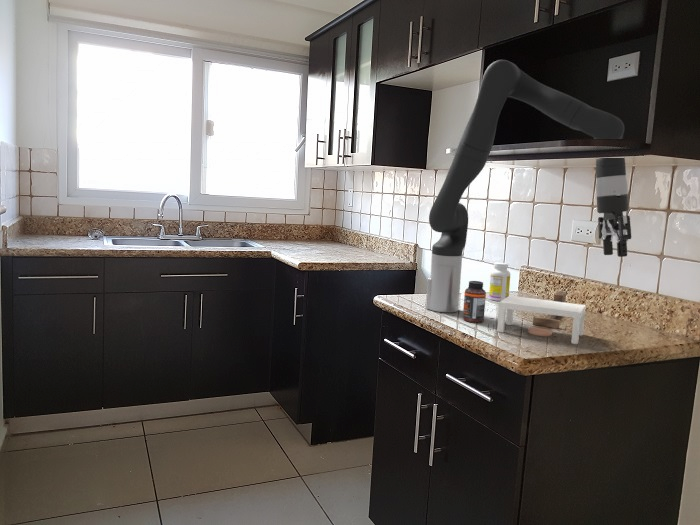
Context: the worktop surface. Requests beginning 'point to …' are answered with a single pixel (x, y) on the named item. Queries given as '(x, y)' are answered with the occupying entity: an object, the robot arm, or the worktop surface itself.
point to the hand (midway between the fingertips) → (615, 255)
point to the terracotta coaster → (540, 331)
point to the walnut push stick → (549, 319)
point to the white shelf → (542, 307)
